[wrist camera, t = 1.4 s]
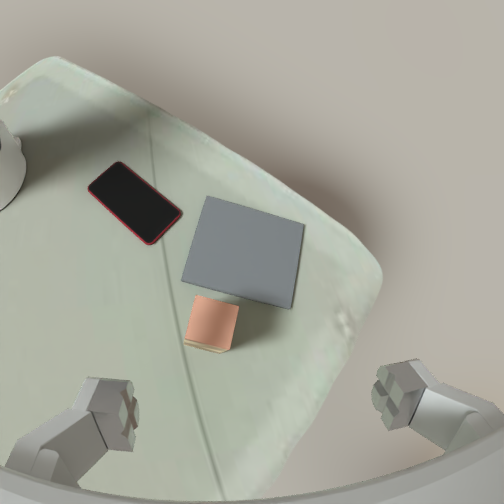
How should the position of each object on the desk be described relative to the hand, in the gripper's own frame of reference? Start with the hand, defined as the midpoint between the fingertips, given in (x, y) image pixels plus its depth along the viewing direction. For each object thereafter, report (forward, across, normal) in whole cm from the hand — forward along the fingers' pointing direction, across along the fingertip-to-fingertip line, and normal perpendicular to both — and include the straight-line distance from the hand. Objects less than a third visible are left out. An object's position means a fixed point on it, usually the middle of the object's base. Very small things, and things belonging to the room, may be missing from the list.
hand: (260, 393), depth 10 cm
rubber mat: (+38, -3, +8) cm, 39 cm away
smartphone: (+42, +14, 0) cm, 44 cm away
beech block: (+30, +3, +16) cm, 35 cm away
